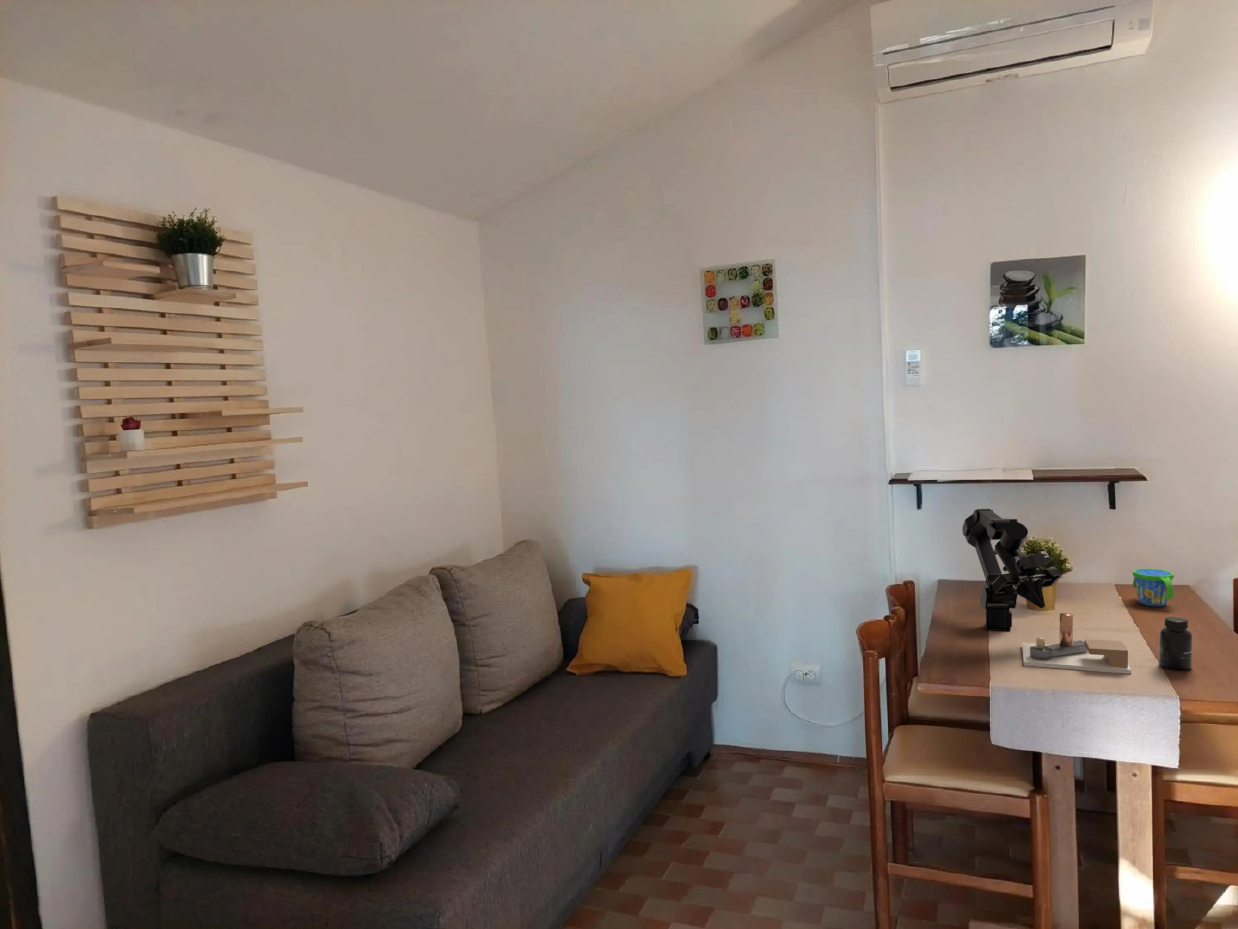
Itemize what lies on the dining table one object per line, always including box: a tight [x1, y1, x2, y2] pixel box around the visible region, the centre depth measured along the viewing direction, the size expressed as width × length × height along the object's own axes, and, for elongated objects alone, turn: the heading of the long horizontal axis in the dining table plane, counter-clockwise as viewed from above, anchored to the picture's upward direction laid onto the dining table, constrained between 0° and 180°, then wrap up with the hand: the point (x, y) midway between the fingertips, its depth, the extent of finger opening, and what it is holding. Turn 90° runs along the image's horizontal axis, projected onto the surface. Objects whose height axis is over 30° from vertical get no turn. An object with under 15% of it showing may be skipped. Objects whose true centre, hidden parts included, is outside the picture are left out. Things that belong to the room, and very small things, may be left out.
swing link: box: [1030, 612, 1088, 660], centre depth 224 cm, size 16×5×10 cm, turn 107°
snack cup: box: [1132, 568, 1175, 608], centre depth 270 cm, size 16×11×10 cm
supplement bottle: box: [1158, 616, 1193, 672], centre depth 214 cm, size 7×7×12 cm
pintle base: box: [1021, 636, 1132, 675], centre depth 223 cm, size 24×16×6 cm
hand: (1043, 607), depth 230 cm, fingers closed
